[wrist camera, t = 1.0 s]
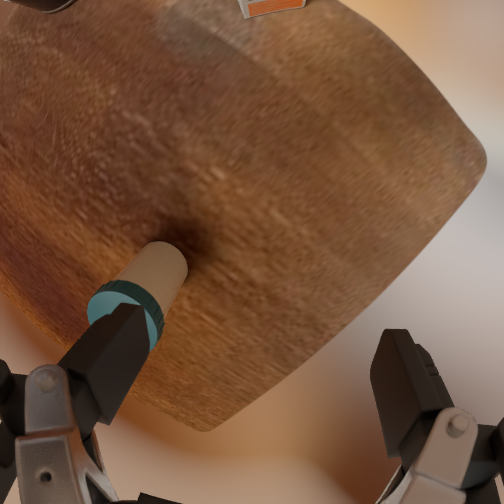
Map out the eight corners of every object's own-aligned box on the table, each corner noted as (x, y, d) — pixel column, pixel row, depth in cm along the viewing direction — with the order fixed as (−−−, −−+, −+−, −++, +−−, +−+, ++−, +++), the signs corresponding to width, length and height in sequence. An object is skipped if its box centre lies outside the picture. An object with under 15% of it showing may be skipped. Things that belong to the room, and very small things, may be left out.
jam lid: (85, 305, 24) (75, 316, 22) (121, 263, 22) (111, 274, 20) (137, 353, 26) (130, 366, 24) (180, 320, 24) (174, 334, 22)
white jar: (128, 263, 33) (81, 314, 23) (159, 230, 31) (114, 276, 21) (164, 299, 34) (131, 359, 24) (199, 270, 32) (170, 330, 23)
